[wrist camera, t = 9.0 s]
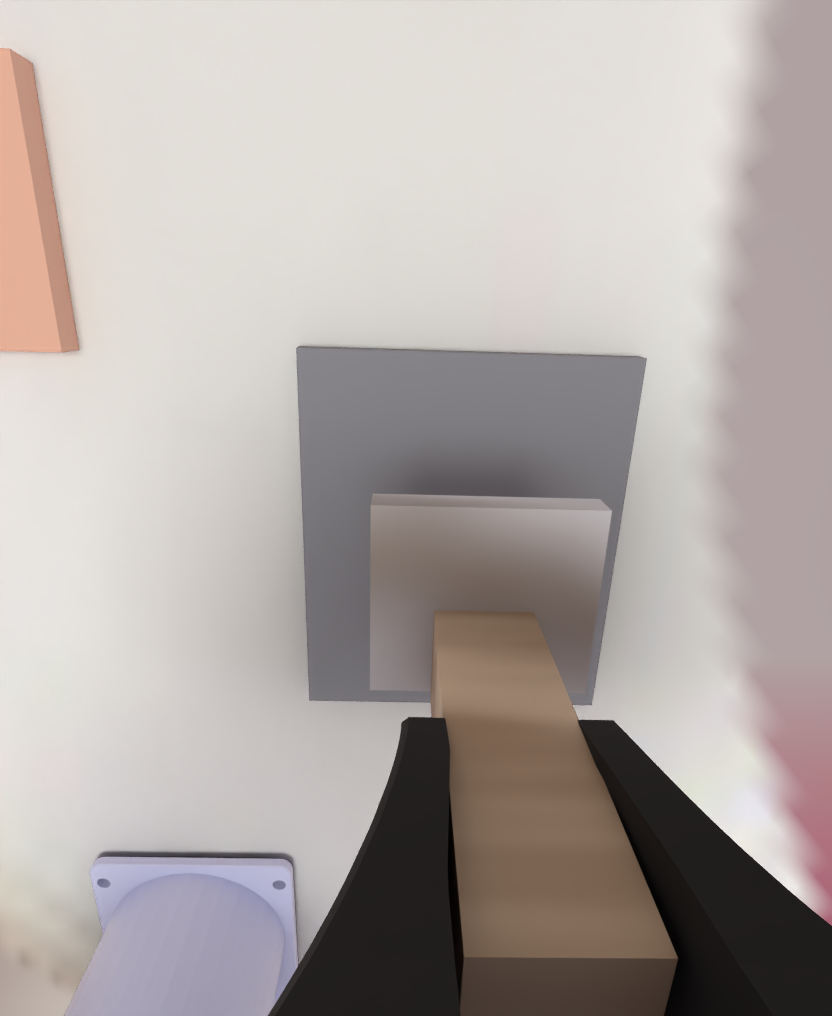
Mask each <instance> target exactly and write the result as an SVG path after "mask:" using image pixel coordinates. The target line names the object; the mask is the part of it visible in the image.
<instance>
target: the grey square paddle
mask: <svg viewBox="0 0 832 1016" xmlns="http://www.w3.org/2000/svg"><path fill="white" fill-rule="evenodd" d="M611 515H612V510H611V509H610V508H609V507H608V506H607V505H606V504H605V503H604V502H603V501H601V500H600V499H580V498H538V497H496V496H454V495H412V494H373V495H372V501H371V529H370V690H385V691H431V692H430V697H431V714H432V718H445V720H446V726H447V732H448V738H449V745H450V780H449V824H448V892H449V903H450V914H451V924H452V935H453V946H454V957H455V967H456V977H457V986H458V996H459V1006H460V1016H664V1013H665V1009H666V1005H667V1001H668V997H669V993H670V989H671V985H672V981H673V977H674V973H675V969H676V965H677V961H678V957H677V955H676V952H675V950H674V947H673V945H672V943H671V940H670V938H669V935H668V933H667V931H666V928H665V926H664V923H663V921H662V919H661V916H660V914H659V911H658V909H657V907H656V904H655V902H654V899H653V897H652V895H651V892H650V890H649V887H648V885H647V883H646V880H645V878H644V875H643V873H642V871H641V868H640V866H639V863H638V861H637V859H636V856H635V854H634V851H633V849H632V847H631V844H630V842H629V839H628V837H627V835H626V832H625V830H624V827H623V825H622V823H621V820H620V818H619V815H618V813H617V811H616V808H615V806H614V803H613V801H612V799H611V796H610V794H609V791H608V789H607V787H606V784H605V782H604V780H603V778H602V776H601V774H600V772H599V770H598V769H597V767H596V765H595V762H594V760H593V757H592V755H591V752H590V750H589V748H588V745H587V743H586V740H585V738H584V735H583V733H582V731H581V728H580V726H579V723H578V721H577V720H579V719H578V717H577V715H576V712H575V710H574V707H573V705H572V703H571V700H570V698H569V695H568V694H585V693H586V686H587V679H588V672H589V665H590V658H591V651H592V645H593V638H594V631H595V624H596V617H597V610H598V604H599V597H600V590H601V583H602V576H603V569H604V562H605V556H606V549H607V542H608V535H609V528H610V521H611Z"/></svg>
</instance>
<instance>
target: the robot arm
mask: <svg viewBox="0 0 832 1016" xmlns="http://www.w3.org/2000/svg"><path fill="white" fill-rule="evenodd" d="M577 721H578V723H579V726H580V728H581V731H582V733H583V735H584V738H585V740H586V743H587V745H588V748H589V750H590V752H591V755H592V757H593V760H594V762H595V765H596V767H597V769H598V770H599V772H600V774H601V776H602V778H603V780H604V782H605V784H606V787H607V789H608V791H609V794H610V796H611V799H612V801H613V803H614V806H615V808H616V811H617V813H618V815H619V818H620V820H621V823H622V825H623V827H624V830H625V832H626V835H627V837H628V839H629V842H630V844H631V847H632V849H633V851H634V854H635V856H636V859H637V861H638V863H639V866H640V868H641V871H642V873H643V875H644V878H645V880H646V883H647V885H648V887H649V890H650V892H651V895H652V897H653V899H654V902H655V904H656V907H657V909H658V911H659V914H660V916H661V919H662V921H663V923H664V926H665V928H666V931H667V933H668V935H669V938H670V940H671V943H672V945H673V947H674V950H675V952H676V955H677V957H678V961H677V965H676V969H675V973H674V977H673V981H672V985H671V989H670V993H669V997H668V1001H667V1005H666V1009H665V1013H664V1016H832V926H831V925H830V924H828V923H827V922H826V921H825V920H824V919H822V918H821V917H820V916H819V915H817V914H816V913H815V912H814V911H812V910H811V909H810V908H809V907H808V906H807V905H805V904H804V903H803V902H802V901H801V900H799V899H798V898H797V897H796V896H795V895H793V894H792V893H791V892H790V891H789V890H788V889H786V888H785V887H784V886H783V885H782V884H781V883H780V882H779V881H777V880H776V879H775V878H774V877H773V876H772V875H771V874H770V873H768V872H767V871H766V870H765V869H764V868H763V867H762V866H761V865H760V864H758V863H757V862H756V861H755V860H754V859H753V858H752V857H751V856H749V855H748V854H747V853H746V852H745V851H744V850H743V849H742V848H741V847H740V846H738V845H737V844H736V843H735V842H734V841H733V840H732V839H731V838H730V837H729V836H728V835H727V834H726V833H725V832H724V831H722V830H721V829H720V828H719V827H718V826H717V825H716V824H715V823H714V822H713V821H712V820H711V819H710V818H709V817H708V816H707V815H706V814H705V813H704V812H703V811H702V810H701V809H700V808H699V807H698V806H697V805H696V804H695V803H694V802H693V801H692V800H691V799H690V798H689V797H688V796H687V795H686V794H685V793H684V792H683V791H682V790H681V789H680V788H679V787H678V786H677V785H676V784H675V783H674V782H673V781H672V780H671V779H670V778H669V777H668V776H667V775H666V774H665V773H664V772H663V771H662V770H661V769H660V768H659V767H658V766H657V765H656V764H655V763H654V762H653V761H652V760H651V759H650V758H649V757H648V756H647V755H646V754H645V753H644V751H643V750H642V749H641V748H640V747H639V746H638V745H637V744H636V743H635V742H634V741H633V740H632V739H631V738H630V737H629V736H628V735H627V734H626V733H625V732H624V731H623V730H622V729H621V728H620V727H619V726H618V725H617V724H616V723H615V722H614V721H613V720H577ZM449 780H450V745H449V738H448V732H447V726H446V720H445V718H426V717H408V718H407V719H406V720H405V721H403V722H402V724H401V735H400V740H399V745H398V749H397V753H396V757H395V760H394V764H393V767H392V770H391V773H390V776H389V779H388V782H387V785H386V788H385V790H384V793H383V796H382V798H381V801H380V803H379V806H378V809H377V811H376V814H375V816H374V819H373V821H372V824H371V826H370V829H369V831H368V833H367V835H366V837H365V840H364V842H363V844H362V846H361V848H360V850H359V853H358V855H357V857H356V859H355V861H354V863H353V866H352V868H351V870H350V872H349V874H348V876H347V878H346V880H345V882H344V884H343V886H342V888H341V890H340V892H339V894H338V896H337V898H336V900H335V902H334V904H333V906H332V907H331V909H330V911H329V913H328V915H327V917H326V918H325V920H324V922H323V924H322V926H321V927H320V929H319V931H318V933H317V935H316V936H315V938H314V940H313V942H312V944H311V945H310V947H309V949H308V951H307V952H306V954H305V956H304V957H303V959H302V960H301V962H300V964H299V965H298V954H297V936H296V918H295V900H294V882H293V867H292V865H291V864H290V862H289V861H287V860H285V859H263V858H174V857H100V858H98V859H96V860H95V862H94V863H93V865H92V867H91V868H90V876H91V881H92V885H93V890H94V895H95V899H96V904H97V909H98V913H99V918H100V923H101V927H102V932H103V936H102V938H101V940H100V942H99V944H98V946H97V948H96V950H95V952H94V954H93V956H92V958H91V960H90V962H89V965H88V967H87V969H86V971H85V973H84V975H83V977H82V979H81V981H80V983H79V985H78V987H77V989H76V991H75V994H74V996H73V998H72V1000H71V1002H70V1004H69V1006H68V1008H67V1010H66V1012H65V1014H64V1016H460V1006H459V996H458V986H457V977H456V967H455V957H454V946H453V935H452V924H451V914H450V903H449V892H448V824H449Z"/></svg>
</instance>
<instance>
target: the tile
mask: <svg viewBox="0 0 832 1016" xmlns="http://www.w3.org/2000/svg"><path fill="white" fill-rule="evenodd" d="M75 350H79V345H78V339H77V333H76V327H75V321H74V315H73V309H72V303H71V297H70V290H69V284H68V278H67V272H66V266H65V260H64V254H63V248H62V242H61V235H60V229H59V223H58V217H57V211H56V205H55V199H54V193H53V187H52V180H51V174H50V168H49V162H48V156H47V150H46V144H45V138H44V132H43V125H42V119H41V113H40V107H39V101H38V95H37V89H36V83H35V77H34V70H33V64H32V63H31V62H30V61H28V60H27V59H25V58H23V57H22V56H20V55H19V54H17V53H16V52H14V51H13V50H11V49H5V48H0V351H27V352H68V351H75Z"/></svg>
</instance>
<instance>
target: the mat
mask: <svg viewBox="0 0 832 1016" xmlns="http://www.w3.org/2000/svg"><path fill="white" fill-rule="evenodd" d="M296 353H297V379H298V406H299V433H300V460H301V486H302V513H303V540H304V566H305V593H306V620H307V646H308V673H309V700H316V701H375V702H431V697H430V692H431V691H385V690H370V529H371V501H372V495H373V494H412V495H454V496H496V497H538V498H580V499H600V500H601V501H603V502H604V503H605V504H606V505H607V506H608V507H609V508H610V509H611V510H612V515H611V521H610V528H609V535H608V542H607V549H606V556H605V562H604V569H603V576H602V583H601V590H600V597H599V604H598V610H597V617H596V624H595V631H594V638H593V645H592V651H591V658H590V665H589V672H588V679H587V686H586V693H585V694H568V695H569V698H570V700H571V703H572V705H592V699H593V693H594V687H595V680H596V674H597V668H598V662H599V655H600V649H601V643H602V636H603V630H604V624H605V618H606V611H607V605H608V599H609V592H610V586H611V580H612V574H613V567H614V561H615V555H616V548H617V542H618V536H619V530H620V523H621V517H622V511H623V504H624V498H625V492H626V486H627V479H628V473H629V467H630V460H631V454H632V448H633V442H634V435H635V429H636V423H637V416H638V410H639V404H640V398H641V391H642V385H643V379H644V372H645V366H646V360H647V358H643V357H637V356H604V355H571V354H538V353H505V352H472V351H439V350H407V349H374V348H341V347H308V346H299V347H297V348H296Z"/></svg>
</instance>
